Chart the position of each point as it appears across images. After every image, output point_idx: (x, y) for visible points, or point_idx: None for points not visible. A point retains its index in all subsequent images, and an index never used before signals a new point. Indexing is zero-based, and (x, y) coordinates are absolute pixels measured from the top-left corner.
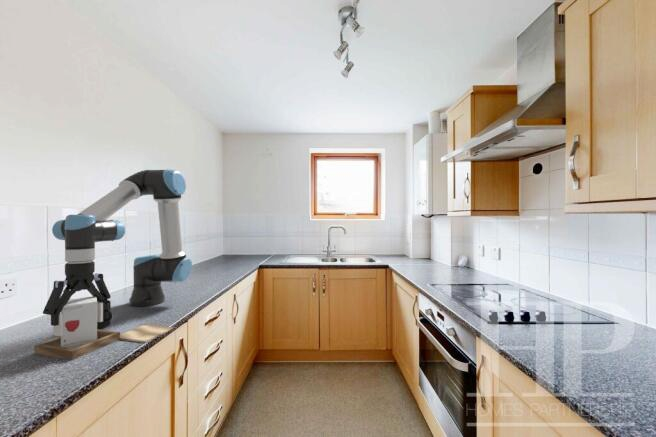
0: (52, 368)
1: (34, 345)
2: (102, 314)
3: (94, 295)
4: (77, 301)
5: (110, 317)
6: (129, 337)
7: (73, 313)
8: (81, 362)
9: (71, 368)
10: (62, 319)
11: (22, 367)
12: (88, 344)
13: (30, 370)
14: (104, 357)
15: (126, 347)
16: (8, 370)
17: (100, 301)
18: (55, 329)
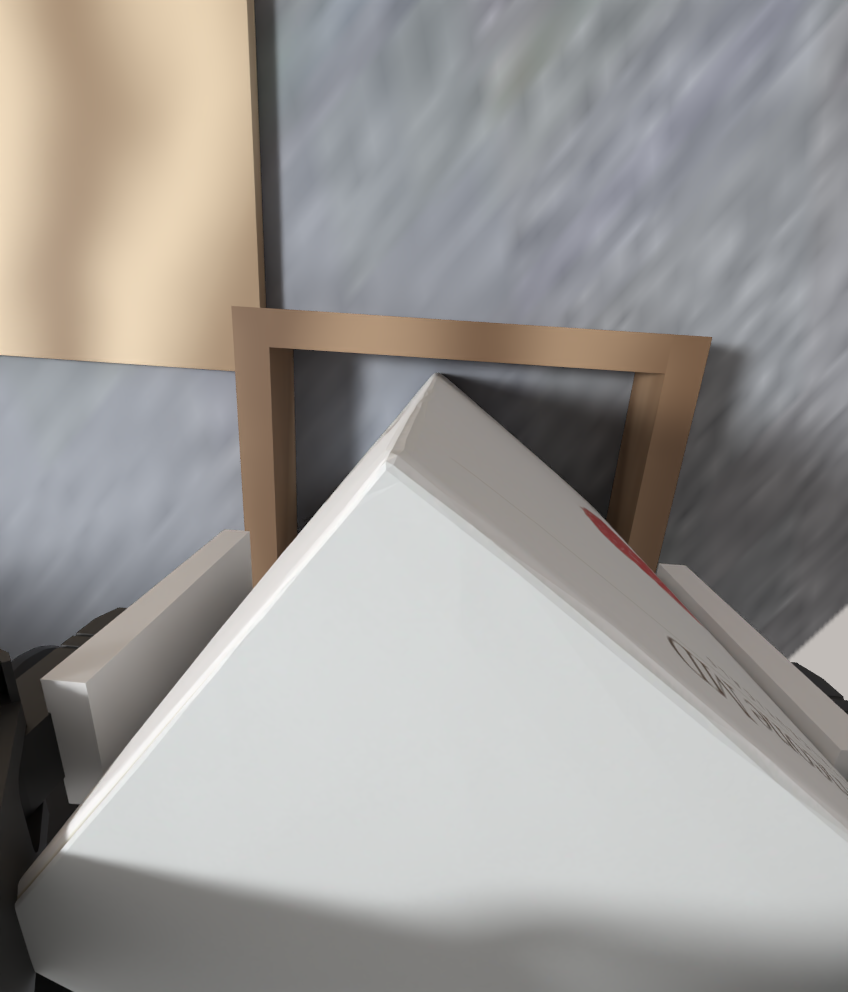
0: (818, 348)
1: None
2: (185, 567)
3: (13, 973)
4: (559, 946)
5: (44, 653)
6: (223, 213)
7: (712, 649)
8: (717, 211)
9: (826, 186)
10: (775, 677)
11: (793, 565)
12: (555, 336)
13: (841, 473)
14: (613, 82)
15: (388, 63)
16: (832, 604)
17: (39, 746)
18: None
